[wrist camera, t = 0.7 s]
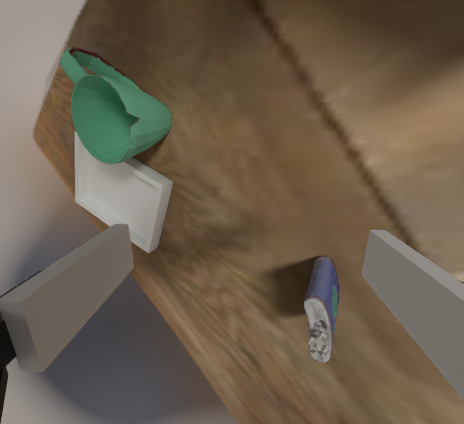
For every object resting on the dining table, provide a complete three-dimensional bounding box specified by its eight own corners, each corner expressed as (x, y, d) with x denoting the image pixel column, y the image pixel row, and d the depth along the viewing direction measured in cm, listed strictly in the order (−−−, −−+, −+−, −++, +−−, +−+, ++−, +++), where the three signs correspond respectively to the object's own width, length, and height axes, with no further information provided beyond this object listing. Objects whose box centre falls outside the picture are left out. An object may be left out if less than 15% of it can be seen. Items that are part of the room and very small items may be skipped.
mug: (197, 126, 33) (145, 132, 25) (159, 164, 39) (106, 179, 31) (137, 34, 32) (62, 9, 24) (107, 86, 38) (37, 80, 30)
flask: (313, 254, 33) (297, 308, 24) (337, 255, 31) (329, 313, 22) (319, 309, 35) (307, 375, 27) (341, 312, 34) (335, 383, 25)
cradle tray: (87, 130, 44) (74, 131, 41) (173, 181, 39) (163, 185, 37) (86, 198, 51) (75, 201, 49) (157, 247, 47) (148, 253, 45)
